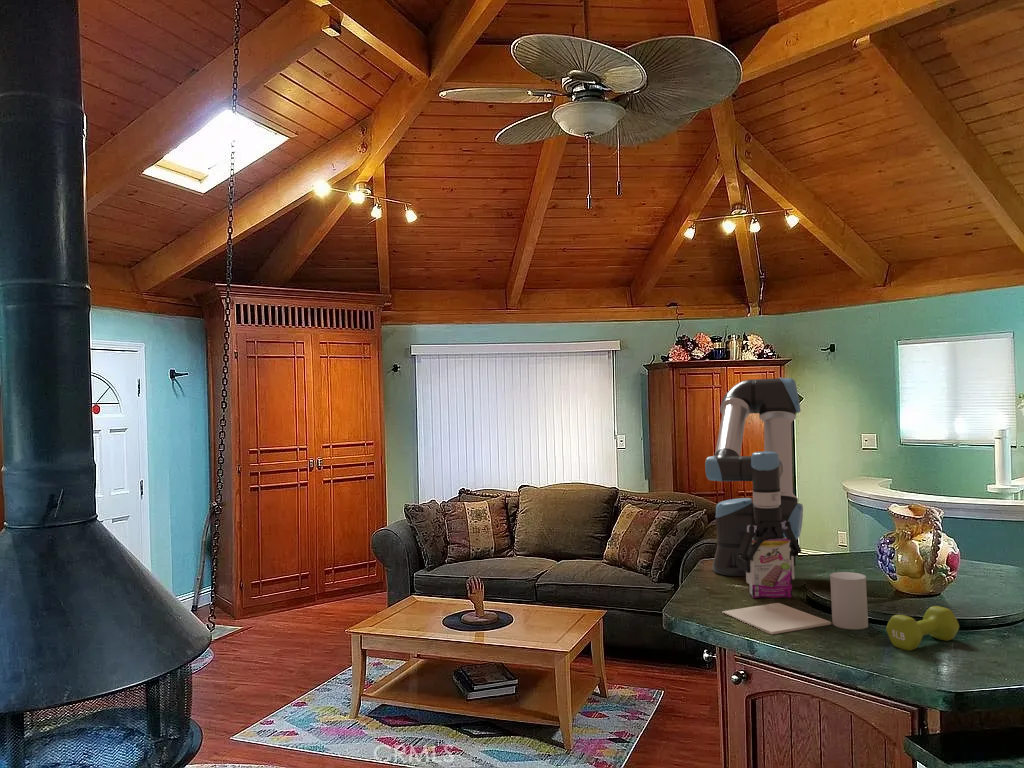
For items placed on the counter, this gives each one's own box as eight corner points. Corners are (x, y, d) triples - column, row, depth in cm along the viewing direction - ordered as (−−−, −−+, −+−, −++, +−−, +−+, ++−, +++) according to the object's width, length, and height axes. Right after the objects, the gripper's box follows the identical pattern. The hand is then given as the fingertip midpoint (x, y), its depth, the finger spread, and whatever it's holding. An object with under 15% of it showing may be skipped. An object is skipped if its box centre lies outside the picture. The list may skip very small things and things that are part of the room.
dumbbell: (914, 655, 168) (912, 621, 168) (883, 645, 175) (881, 613, 175) (963, 642, 175) (962, 610, 175) (931, 632, 182) (930, 602, 182)
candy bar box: (753, 599, 217) (750, 540, 217) (749, 594, 222) (746, 537, 222) (793, 598, 216) (791, 539, 216) (789, 593, 221) (786, 536, 221)
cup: (873, 623, 191) (870, 574, 191) (861, 631, 185) (859, 581, 185) (839, 617, 197) (837, 570, 197) (827, 625, 191) (825, 576, 191)
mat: (778, 604, 210) (778, 602, 210) (831, 624, 191) (831, 621, 191) (722, 613, 204) (722, 611, 204) (771, 634, 185) (771, 632, 185)
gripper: (738, 511, 212) (741, 589, 211) (811, 504, 220) (815, 578, 220) (722, 508, 219) (725, 583, 219) (794, 501, 227) (797, 573, 227)
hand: (770, 581), depth 219 cm, fingers open, 13 cm apart
